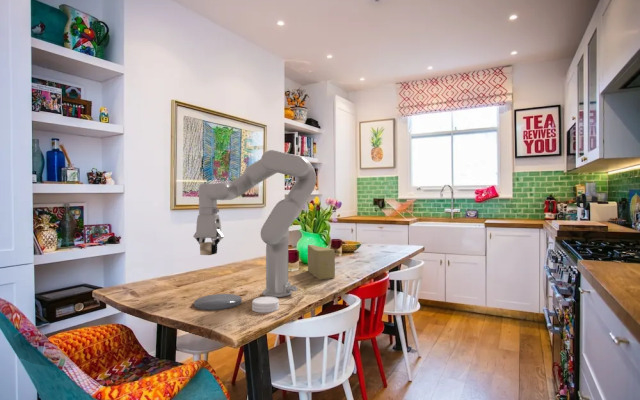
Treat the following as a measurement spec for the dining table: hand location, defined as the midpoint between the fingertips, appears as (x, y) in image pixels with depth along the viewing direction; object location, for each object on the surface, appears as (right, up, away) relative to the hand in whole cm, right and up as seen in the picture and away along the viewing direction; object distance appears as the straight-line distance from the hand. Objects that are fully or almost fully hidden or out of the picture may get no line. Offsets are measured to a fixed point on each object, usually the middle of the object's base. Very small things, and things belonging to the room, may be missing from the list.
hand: (208, 252), depth 159 cm
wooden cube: (0, -1, 0) cm, 1 cm away
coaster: (+28, -18, -23) cm, 41 cm away
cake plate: (+9, -18, -16) cm, 25 cm away
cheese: (+48, -17, +33) cm, 60 cm away
